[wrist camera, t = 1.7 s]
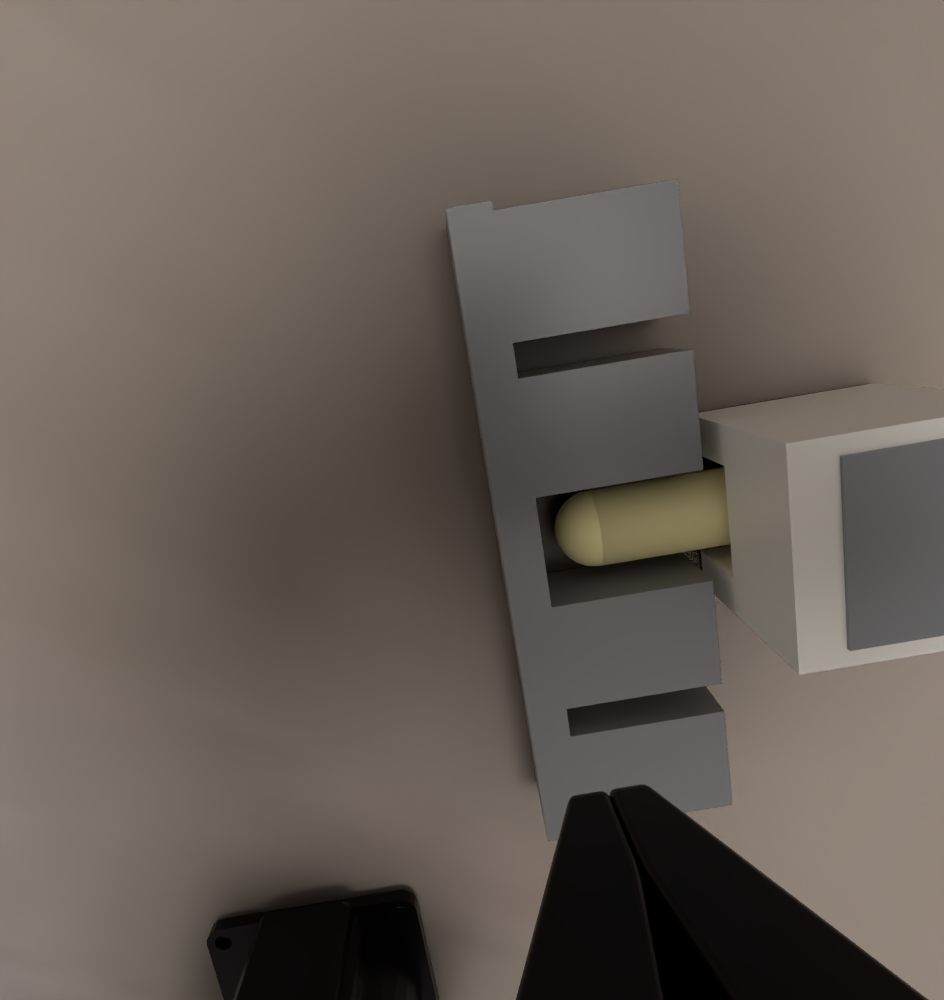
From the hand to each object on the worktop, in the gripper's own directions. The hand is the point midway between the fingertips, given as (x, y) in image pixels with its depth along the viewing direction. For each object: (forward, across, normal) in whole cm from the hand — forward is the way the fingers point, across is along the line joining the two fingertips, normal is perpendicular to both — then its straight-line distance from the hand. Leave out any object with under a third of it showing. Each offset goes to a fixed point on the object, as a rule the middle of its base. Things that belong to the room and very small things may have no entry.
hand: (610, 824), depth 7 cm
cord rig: (+12, -11, 0) cm, 16 cm away
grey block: (+12, -8, 0) cm, 14 cm away
